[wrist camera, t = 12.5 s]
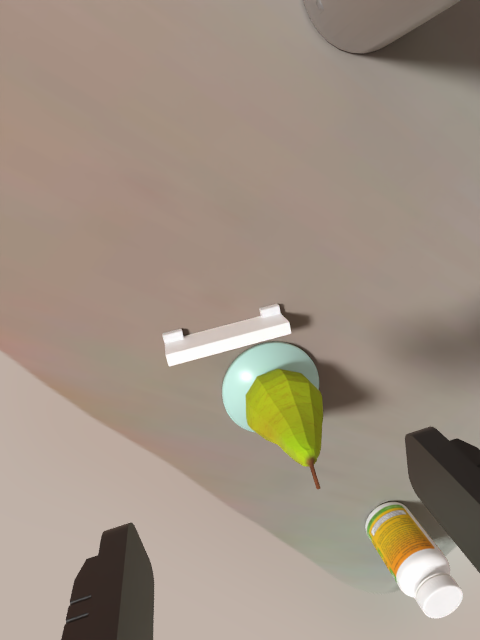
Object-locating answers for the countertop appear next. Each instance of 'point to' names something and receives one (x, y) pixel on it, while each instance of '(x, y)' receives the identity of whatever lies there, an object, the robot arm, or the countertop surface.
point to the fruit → (287, 414)
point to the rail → (225, 336)
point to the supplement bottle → (413, 559)
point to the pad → (257, 364)
